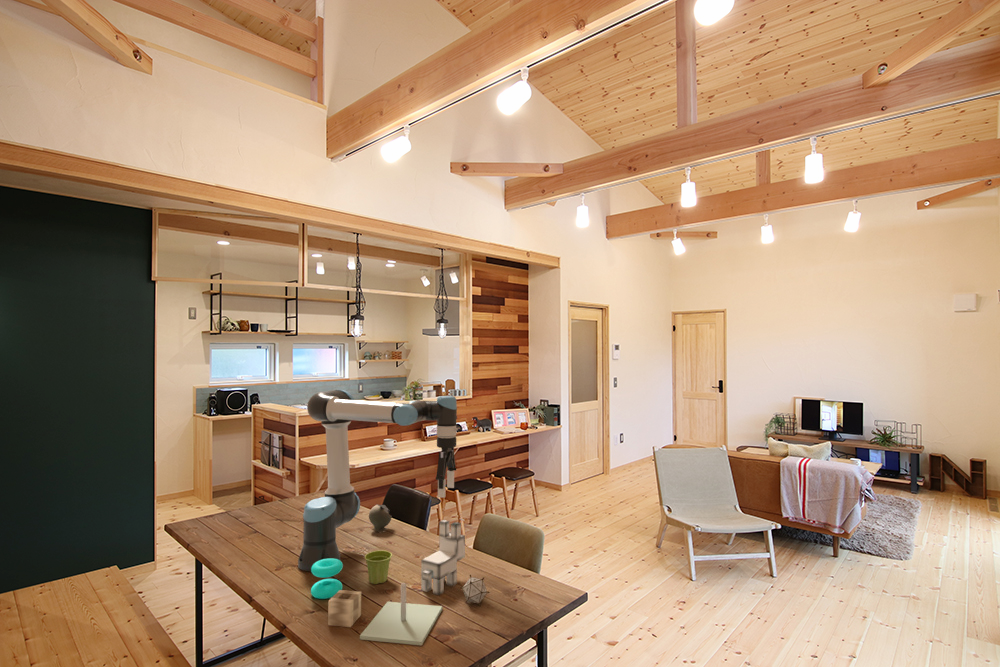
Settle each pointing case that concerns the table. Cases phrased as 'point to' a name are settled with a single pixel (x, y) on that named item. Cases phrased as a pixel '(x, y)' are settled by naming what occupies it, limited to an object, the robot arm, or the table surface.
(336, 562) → the donuts
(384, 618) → the stand
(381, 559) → the plant pot
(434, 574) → the toy llama
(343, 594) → the bead
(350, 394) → the robot arm
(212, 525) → the table surface
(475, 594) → the game die
